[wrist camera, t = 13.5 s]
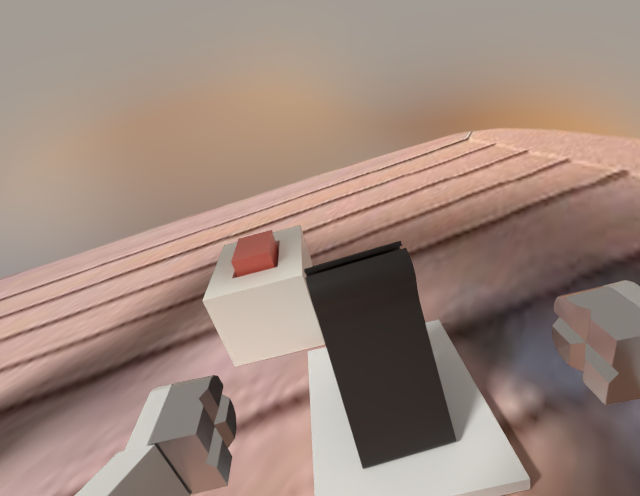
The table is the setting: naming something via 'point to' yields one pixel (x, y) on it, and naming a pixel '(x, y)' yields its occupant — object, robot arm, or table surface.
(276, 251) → the button
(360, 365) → the phone stand
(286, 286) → the box
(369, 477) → the grey mat
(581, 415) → the table surface
